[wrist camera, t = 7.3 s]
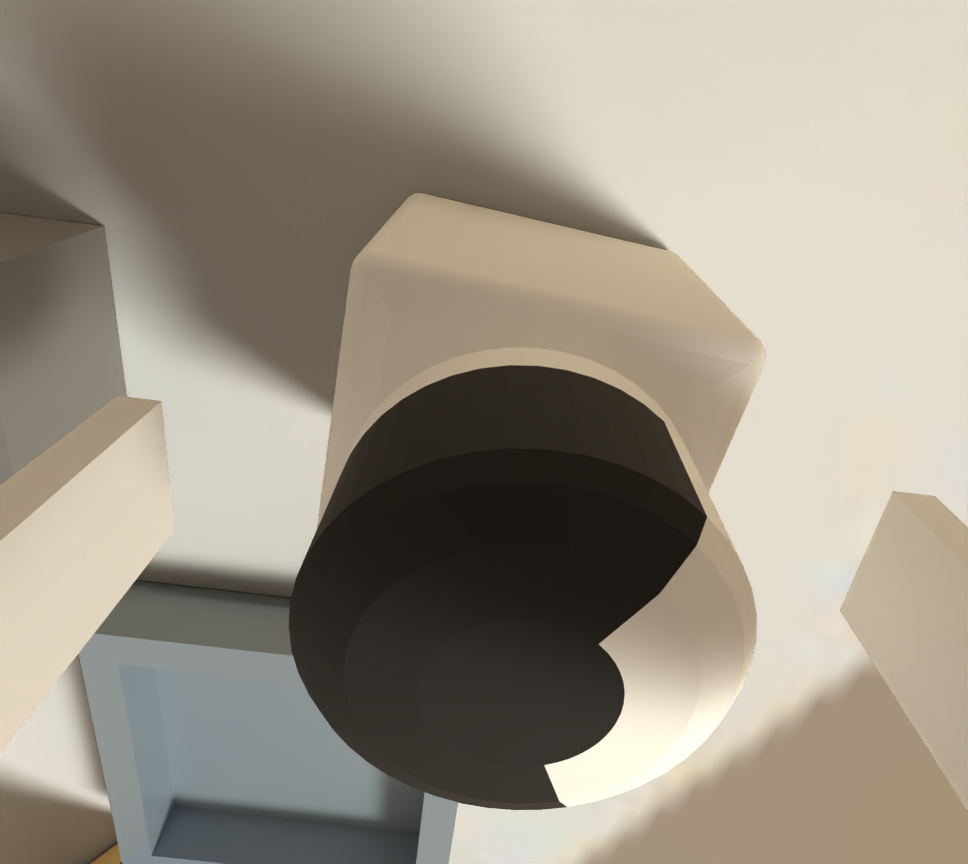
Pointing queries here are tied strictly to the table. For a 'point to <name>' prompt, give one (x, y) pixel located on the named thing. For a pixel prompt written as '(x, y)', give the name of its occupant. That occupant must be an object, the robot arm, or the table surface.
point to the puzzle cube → (109, 857)
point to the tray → (235, 744)
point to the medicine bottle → (526, 512)
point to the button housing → (53, 334)
